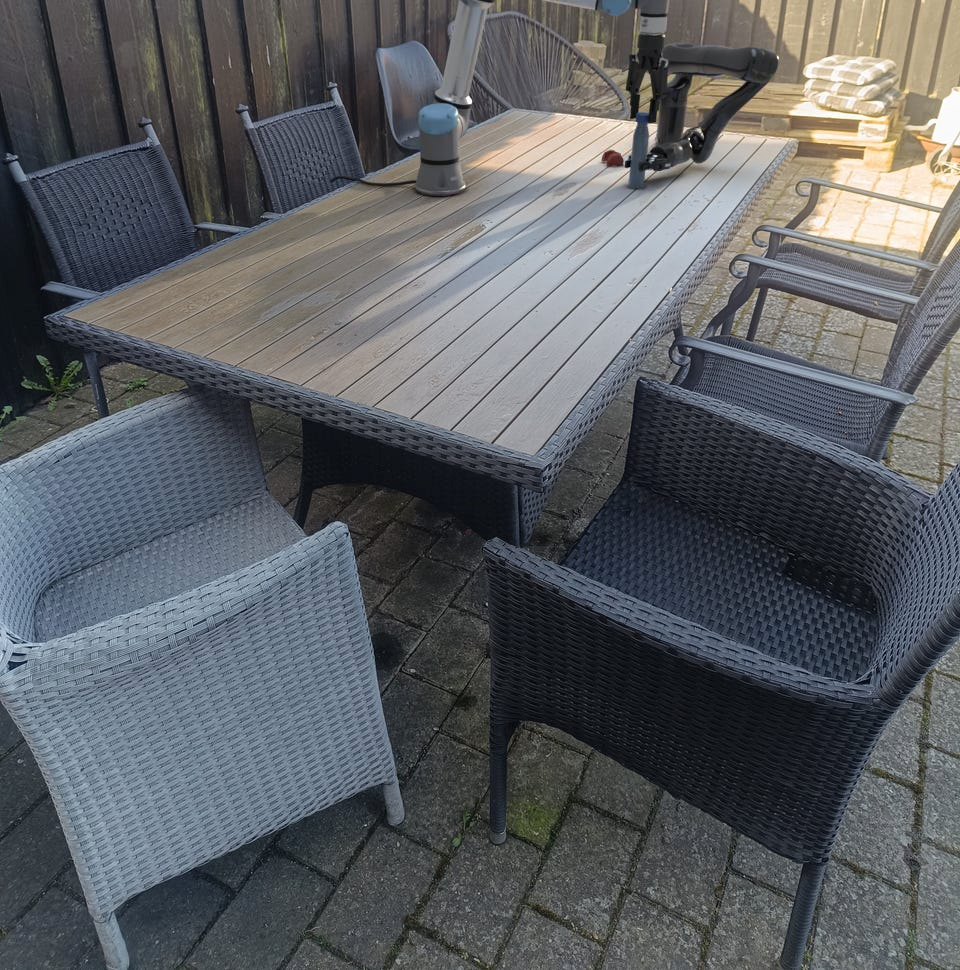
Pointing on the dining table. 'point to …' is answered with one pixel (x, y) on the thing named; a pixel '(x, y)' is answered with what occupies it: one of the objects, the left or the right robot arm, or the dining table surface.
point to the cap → (642, 117)
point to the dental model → (612, 158)
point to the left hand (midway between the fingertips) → (642, 120)
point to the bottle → (638, 155)
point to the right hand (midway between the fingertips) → (632, 166)
